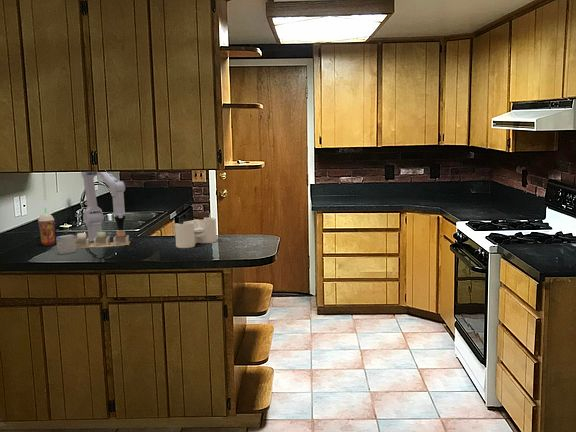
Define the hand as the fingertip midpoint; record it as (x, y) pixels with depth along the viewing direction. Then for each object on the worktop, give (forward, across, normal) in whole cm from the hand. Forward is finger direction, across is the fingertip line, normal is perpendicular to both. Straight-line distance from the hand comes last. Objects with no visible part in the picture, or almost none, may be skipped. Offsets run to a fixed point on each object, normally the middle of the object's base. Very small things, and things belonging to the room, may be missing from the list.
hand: (120, 230), depth 326 cm
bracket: (+8, +20, +37) cm, 43 cm away
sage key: (+5, -2, -10) cm, 11 cm away
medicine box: (+8, +11, -27) cm, 31 cm away
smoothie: (+8, -21, -37) cm, 43 cm away
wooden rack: (+8, -2, -10) cm, 13 cm away
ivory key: (+5, -3, -20) cm, 21 cm away
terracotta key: (+5, 0, 0) cm, 5 cm away
